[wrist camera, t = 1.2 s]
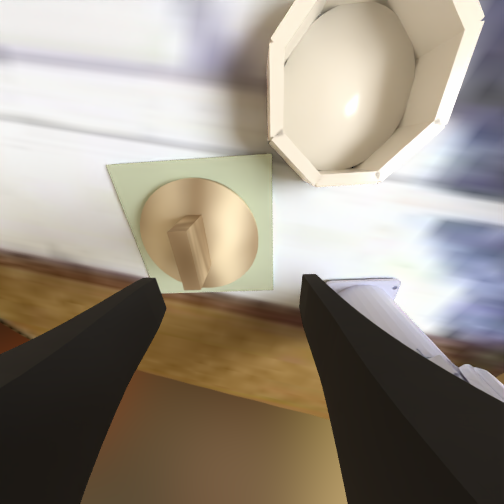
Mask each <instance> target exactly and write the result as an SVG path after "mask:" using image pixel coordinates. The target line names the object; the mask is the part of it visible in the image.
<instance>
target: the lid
mask: <svg viewBox="0 0 504 504" xmlns="http://www.w3.org/2000/svg"><path fill="white" fill-rule="evenodd" d="M140 233H141V238H142V242H143V245H144V247H145V249H146V251H147V253H148V254H149V256H150V258H151V259H152V260H153V262H154V263H155V264H156V265H157V266H158V267H159V268H160V269H161V270H162V271H163V272H165V273H166V274H167V275H169V276H170V277H172V278H174V279H175V280H177V281H180V282H182V284H183V288H184V290H201V288H213V287H220V286H224V285H227V284H230V283H232V282H234V281H236V280H237V279H239V278H240V277H242V276H243V275H244V274H245V273H246V272H247V271H248V270H249V268H250V267H251V266H252V264H253V262H254V260H255V257H256V254H257V250H258V228H257V224H256V220H255V218H254V216H253V213H252V212H251V210H250V208H249V207H248V205H247V204H246V203H245V201H244V200H243V199H242V198H241V197H240V196H239V195H238V194H237V193H235V192H234V191H233V190H232V189H230V188H228V187H227V186H225V185H223V184H221V183H219V182H216V181H213V180H210V179H205V178H184V179H180V180H176V181H173V182H170V183H168V184H165V185H163V186H162V187H160V188H159V189H157V190H156V191H155V192H154V193H153V194H152V195H151V196H150V197H149V199H148V200H147V201H146V203H145V205H144V207H143V210H142V213H141V218H140Z"/></svg>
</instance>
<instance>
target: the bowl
mask: <svg viewBox="0 0 504 504" xmlns="http://www.w3.org/2000/svg"><path fill="white" fill-rule="evenodd" d="M323 13H324V14H323ZM320 14H323V15H322V16H320V17H319V15H320ZM318 17H319V18H318ZM484 17H485V16H484V13H483V11H482V8H481V6H480V3H479V0H295V1H294V3H293V4H292V6H291V7H290V9H289V10H288V12H287V14H286V15H285V17H284V18H283V20H282V21H281V23H280V24H279V26H278V27H277V29H276V31H275V32H274V34H273V35H272V37H271V38H270V43H269V50H268V60H267V70H266V73H267V130H268V141H270V142H269V144H270V145H271V147H272V148H273V149H274V150H275V151H276V152H277V153H278V154H279V155H280V156H281V157H282V158H283V159H284V160H285V161H286V163H287V164H288V165H289V166H290V167H291V168H292V169H293V170H294V171H295V172H296V173H297V174H298V175H299V176H300V177H301V179H302V180H303V181H305V182H307V183H309V184H311V185H313V186H315V187H327V186H344V185H361V184H378V182H382V181H383V180H384V179H385V178H386V177H388V176H389V175H390V174H391V173H392V172H393V171H395V170H396V169H397V168H398V167H399V166H400V165H402V164H403V163H404V162H405V161H406V160H407V159H409V158H410V157H411V156H412V155H413V154H414V153H416V152H417V151H418V150H419V149H420V148H421V147H423V146H424V145H425V144H426V143H427V142H428V141H429V140H431V139H432V138H433V137H434V136H435V135H436V134H438V133H439V132H440V131H441V130H442V129H443V128H445V127H444V124H447V123H448V120H449V117H450V115H451V112H452V109H453V106H454V104H455V101H456V98H457V95H458V93H459V90H460V87H461V84H462V82H463V79H464V76H465V73H466V70H467V68H468V65H469V62H470V59H471V57H472V54H473V51H474V48H475V46H476V43H477V40H478V37H479V35H480V32H481V29H482V26H483V23H484V21H480V20H481V19H482V18H484ZM317 18H318V19H317ZM479 21H480V22H479ZM284 65H285V67H284ZM353 166H355V167H354V168H351V167H353Z"/></svg>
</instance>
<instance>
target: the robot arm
mask: <svg viewBox="0 0 504 504" xmlns="http://www.w3.org/2000/svg"><path fill="white" fill-rule="evenodd" d="M400 284H401V282H400V281H399V280H398V279H368V280H336V281H328V282H327V283H325V282H324V281H323V280H322V279H321V278H319V277H318V276H317V275H316V274H303V276H302V286H301V295H300V304H299V308H300V313H301V318H302V323H303V327H304V330H305V333H306V337H307V340H308V343H309V346H310V349H311V352H312V355H313V358H314V361H315V364H316V367H317V370H318V373H319V377H320V380H321V384H322V387H323V391H324V396H325V400H326V404H327V408H328V413H329V417H330V421H331V426H332V430H333V435H334V439H335V444H336V448H337V453H338V458H339V463H340V468H341V473H342V477H343V482H344V487H345V492H346V497H347V502H348V504H504V385H503V384H502V383H501V382H500V381H499V380H497V379H496V378H495V377H494V376H493V375H492V374H490V373H489V372H488V371H486V370H483V369H480V368H476V367H473V366H471V365H469V364H465V365H463V366H461V367H459V368H458V367H457V366H456V365H454V364H453V363H452V362H451V361H450V360H449V359H448V358H447V357H446V356H445V355H444V354H443V353H442V352H441V350H440V349H439V348H438V347H437V346H436V345H435V344H434V343H433V342H432V341H431V340H430V339H429V338H428V337H427V336H426V335H425V333H424V332H423V331H422V330H421V329H420V328H419V327H418V326H417V325H416V324H415V323H414V322H413V321H412V320H411V319H410V318H409V316H408V315H407V314H406V313H405V312H404V311H403V310H402V309H401V308H400V307H399V306H398V305H397V304H396V303H395V302H394V299H395V297H396V294H397V292H398V289H399V287H400ZM165 311H166V305H165V303H164V300H163V297H162V294H161V291H160V289H159V286H158V283H157V280H156V278H142V279H140V280H138V281H136V282H135V283H133V284H131V285H129V286H127V287H126V288H124V289H122V290H121V291H119V292H117V293H116V294H114V295H112V296H110V297H109V298H107V299H105V300H104V301H102V302H100V303H99V304H97V305H95V306H93V307H92V308H90V309H88V310H86V311H85V312H83V313H81V314H79V315H77V316H76V317H74V318H72V319H70V320H69V321H67V322H65V323H63V324H61V325H59V326H58V327H56V328H54V329H52V330H50V331H48V332H46V333H44V334H42V335H40V336H38V337H36V338H34V339H32V340H30V341H28V342H26V343H24V344H22V345H20V346H18V347H15V348H13V349H11V350H9V351H7V352H4V353H2V354H0V504H80V502H81V500H82V497H83V494H84V491H85V488H86V485H87V483H88V480H89V477H90V475H91V472H92V469H93V467H94V464H95V462H96V459H97V457H98V454H99V451H100V449H101V446H102V444H103V441H104V439H105V436H106V434H107V431H108V429H109V427H110V424H111V422H112V420H113V417H114V415H115V412H116V410H117V408H118V406H119V404H120V401H121V399H122V397H123V395H124V392H125V390H126V387H127V386H128V384H129V382H130V380H131V378H132V376H133V374H134V372H135V371H136V369H137V367H138V365H139V363H140V362H141V360H142V358H143V356H144V354H145V353H146V351H147V349H148V347H149V345H150V344H151V342H152V340H153V338H154V336H155V334H156V332H157V331H158V329H159V326H160V324H161V322H162V319H163V317H164V314H165Z"/></svg>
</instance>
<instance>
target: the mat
mask: <svg viewBox="0 0 504 504" xmlns="http://www.w3.org/2000/svg"><path fill="white" fill-rule="evenodd" d="M106 166H107V169H108V171H109V174H110V177H111V179H112V182H113V184H114V187H115V189H116V192H117V194H118V197H119V200H120V202H121V205H122V207H123V210H124V212H125V215H126V217H127V220H128V223H129V225H130V228H131V230H132V233H133V235H134V238H135V240H136V243H137V245H138V248H139V251H140V253H141V256H142V258H143V261H144V263H145V266H146V268H147V271H148V274H149V276H150V278H156V280H157V283H158V286H159V289H160V291H161V293H192V292H227V291H262V290H273V226H272V154H257V155H243V156H228V157H214V158H199V159H185V160H170V161H156V162H141V163H127V164H112V165H106ZM184 178H205V179H210V180H213V181H216V182H219V183H221V184H223V185H225V186H227V187H228V188H230V189H232V190H233V191H234V192H235V193H237V194H238V195H239V196H240V197H241V198H242V199H243V200H244V201H245V203H246V204H247V205H248V207H249V208H250V210H251V212H252V213H253V216H254V218H255V220H256V224H257V228H258V250H257V254H256V257H255V260H254V262H253V264H252V266H251V267H250V268H249V270H248V271H247V272H246V273H245V274H244V275H243V276H242V277H240V278H239V279H237V280H236V281H234V282H232V283H230V284H227V285H224V286H220V287H213V288H201V290H184V288H183V284H182V282H180V281H177V280H175V279H174V278H172V277H170V276H169V275H167V274H166V273H165V272H163V271H162V270H161V269H160V268H159V267H158V266H157V265H156V264H155V263H154V262H153V260H152V259H151V258H150V256H149V254H148V253H147V251H146V249H145V247H144V245H143V242H142V238H141V233H140V218H141V213H142V210H143V207H144V205H145V203H146V201H147V200H148V199H149V197H150V196H151V195H152V194H153V193H154V192H155V191H156V190H157V189H159V188H160V187H162V186H163V185H165V184H168V183H170V182H173V181H176V180H180V179H184Z"/></svg>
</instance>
